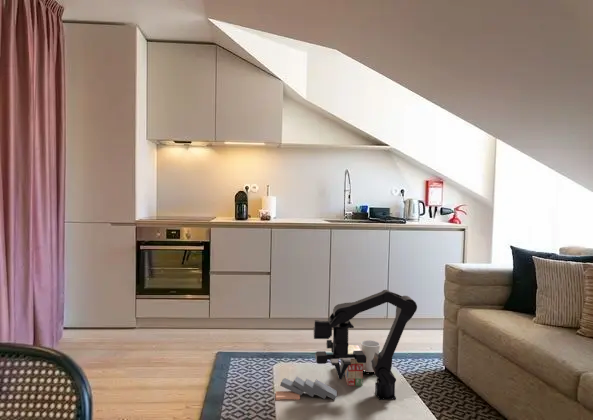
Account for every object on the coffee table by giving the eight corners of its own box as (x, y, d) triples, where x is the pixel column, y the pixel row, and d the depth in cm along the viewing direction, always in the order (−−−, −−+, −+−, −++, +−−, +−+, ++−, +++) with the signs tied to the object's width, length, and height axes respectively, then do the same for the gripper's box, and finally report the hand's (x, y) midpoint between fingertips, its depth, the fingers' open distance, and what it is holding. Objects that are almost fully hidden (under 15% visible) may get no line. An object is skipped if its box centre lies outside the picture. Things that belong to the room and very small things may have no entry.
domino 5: (336, 390, 173) (316, 379, 174) (336, 396, 169) (315, 384, 169) (335, 394, 173) (314, 382, 174) (334, 400, 169) (313, 388, 169)
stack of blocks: (341, 365, 203) (341, 338, 202) (355, 365, 203) (355, 338, 202) (347, 386, 181) (348, 355, 181) (363, 386, 181) (363, 355, 181)
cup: (382, 369, 198) (382, 342, 197) (375, 375, 191) (375, 347, 190) (365, 365, 202) (365, 339, 201) (357, 371, 195) (358, 344, 195)
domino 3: (316, 389, 174) (296, 376, 176) (314, 393, 170) (294, 380, 172) (314, 392, 174) (294, 379, 176) (312, 397, 170) (292, 383, 172)
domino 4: (327, 390, 174) (306, 378, 175) (326, 395, 169) (305, 383, 170) (325, 393, 174) (304, 381, 175) (324, 399, 169) (303, 387, 170)
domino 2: (299, 390, 174) (275, 391, 173) (300, 396, 169) (275, 397, 168) (298, 394, 174) (275, 395, 173) (300, 400, 169) (275, 401, 168)
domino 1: (305, 387, 175) (284, 378, 177) (302, 391, 170) (281, 381, 172) (304, 391, 175) (283, 381, 177) (301, 395, 170) (279, 385, 173)
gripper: (360, 331, 180) (359, 370, 181) (313, 332, 178) (313, 371, 179) (366, 341, 169) (366, 382, 170) (317, 341, 167) (316, 383, 168)
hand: (340, 379), depth 172 cm, fingers closed
